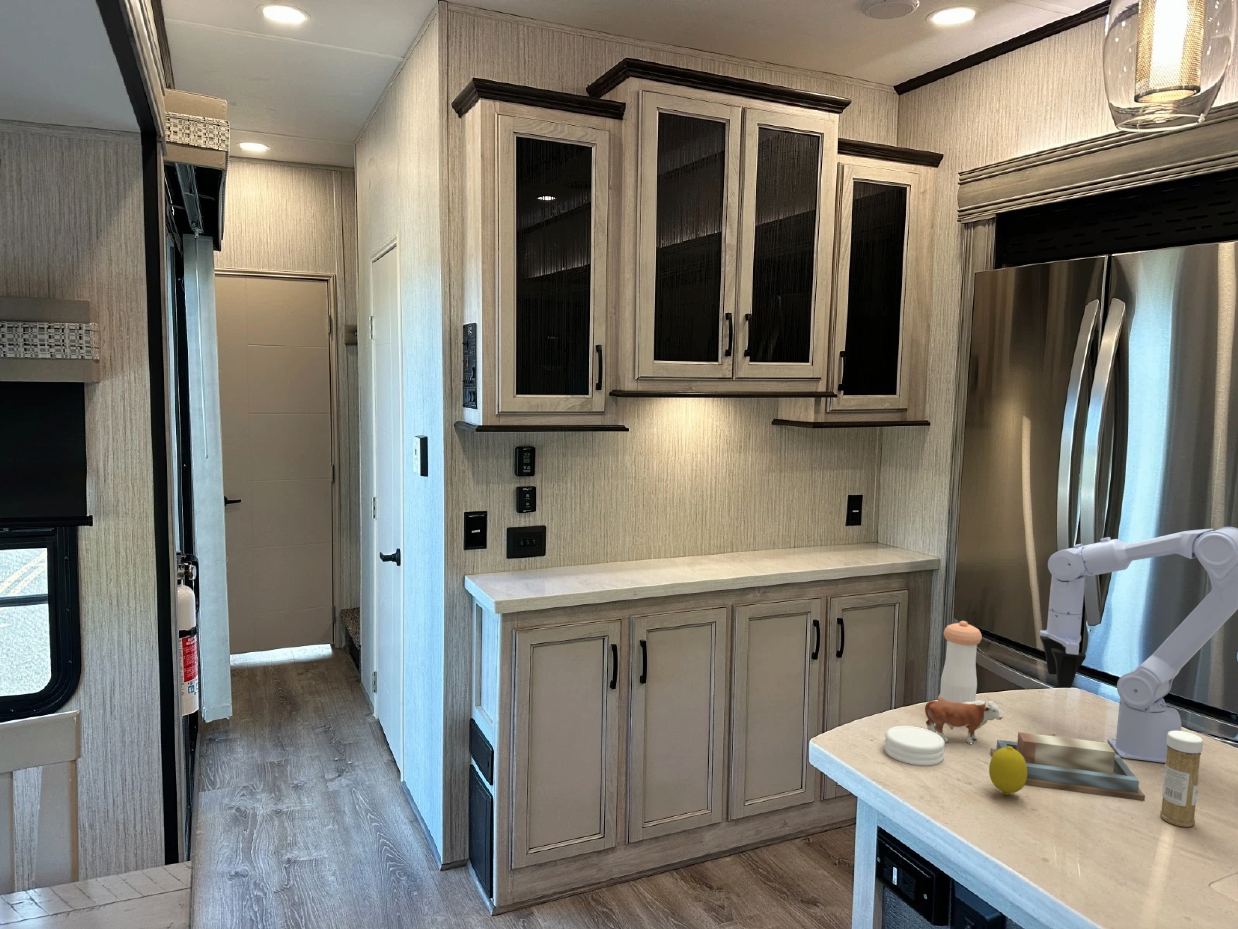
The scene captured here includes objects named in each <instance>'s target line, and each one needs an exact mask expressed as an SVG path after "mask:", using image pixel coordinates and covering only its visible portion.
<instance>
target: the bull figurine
mask: <svg viewBox="0 0 1238 929" xmlns="http://www.w3.org/2000/svg"><path fill="white" fill-rule="evenodd" d="M924 706H925V707H924V713H925V716H926V718H927V720H926V721H925V724H926V727H927V728H926V729H927V730H930V731H932V732H935V733H936V734H938V735H939V736H941V737H942V738H943V740H944V742H948V743H949V742H950V741H949V739H948V737H947V736H946V735H945V734H944V729H943V728H944V726H945V724H946V725H947V726H948V727H949V729H950V730H951V731H952V730H954V728H960V727H965V728H966V729H968V731H967V737H966V739H965V741H966V742H967V743H968V744H969V743H972V744H971V745H974V742H973V739H978V737H977V736H976V733H975V732H976V731H977V730H979V729H980V728H982V726H984V725H986V724H987V723H988V721H994V720H998V721H1000V720H1003V718H1004V715H1003V714H1002V713H1001V711H1000V708H999V707H998V706H997V704H996V703H994V701H993V700H989V701H988V702H985V701H983V700H977V699H976V701H974V702H963V703H954V702H943V701H938V700H929V701H928V702H926V704H925V705H924Z"/></svg>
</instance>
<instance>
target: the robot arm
mask: <svg viewBox="0 0 1238 929" xmlns="http://www.w3.org/2000/svg"><path fill="white" fill-rule="evenodd" d="M1175 554H1176V555H1180V556H1182V557H1185V558H1187V559H1190V560H1192V559H1196V558H1197V560H1198V562H1199V563H1200V564H1201V565H1202V567H1203V568H1204V569H1205V571H1206V572H1207V574H1208V578H1209V581H1210V584H1211V588H1212V589H1211V590H1210V592H1209V593H1207V595H1206V596H1205V597H1204V598H1203V599H1202V600H1201V601H1200V602H1199V603H1198V605H1196V607H1194V608H1193V610H1192V611H1191V612H1189V614H1188V615H1187V616H1186V617H1185V618H1184V619H1183V621H1182V622H1181V623H1180V624H1179V625H1178V626H1177V627H1176V628H1175V629H1174V630H1173V631H1172V632H1171V633H1170V634H1169V636H1168V637H1167V638H1166V639H1165V640H1164V641H1163V642H1162V643H1161V645H1159V646H1158V648H1157V649H1156V650H1155V651H1154V652H1153V653H1152V654H1151V655H1150V656H1148V658H1146V660H1144V661H1143V662H1142V663H1141V664H1139V665H1138V666H1137V667H1136V668H1135V669H1134V670H1132V671H1130V672H1127V673H1125V674H1123V675H1121V676H1120V678H1119V679H1118V680H1117V684H1116V691H1117V694H1118V696H1119V703H1118V713H1117V714H1118V716H1117V723H1116V724H1117V725H1116V736H1115V738H1111V737H1110V738H1107V743H1108V744H1109V745H1110V746H1111V748H1112V749H1113V750H1114V751H1115V753H1116V754H1118V755H1119V756H1120V758H1122V759H1123V758H1125V759H1132V760H1138V761H1139V760H1140V761H1148V762H1156V763H1166V757H1167V734H1168V732H1170V731H1182V720H1181V715H1180V714H1179V712H1178V710H1177V709H1176V708H1174V707H1169V706H1167V704H1166V702H1165V699H1164V697H1165V696H1166V695H1168V694H1169V693H1170V691H1171V689H1172V684H1173V681H1174V679H1175V678H1176V676H1177V675H1178V674H1179V673H1180V671H1181V670H1182V668H1183V667H1184V666H1185V665H1186V664H1187V663H1188V662H1189V661H1190V660H1191V659H1192V658H1193V657H1194V656H1195V655H1196V654H1197V653H1198V651H1200V649H1201V648H1202V647H1203V646H1204V645H1205V644H1206V643H1207V642H1208V641H1209V640H1210V639H1211V638H1212V637H1213V635H1214V634H1216V633H1217V632H1218V631H1219V630H1220V628H1221V627H1223V625H1224V624H1225V623H1226V622H1227V621H1228V620H1229V619H1230V618H1231V617H1232V616H1233V615H1234V614H1235V613H1236V611H1238V528H1237V527H1233V526H1225V527H1224V526H1223V527H1220V528H1218V529H1216V530H1214V528H1204V529H1203V528H1202V529H1193V530H1184V531H1180V532H1176V533H1175V532H1174V533H1171V534H1170V533H1169V534H1166V535H1161V536H1157V537H1154V538H1149V539H1144V540H1140V541H1136V542H1130V543H1126V542H1124V541H1122V540H1121V539H1119V538H1118V539H1117V538H1115V539H1114V538H1113V539H1111V537H1110V536H1108V537H1103V538H1100V541H1099V542H1094V543H1090V544H1085V545H1083V543H1079V544H1077V543H1076V544H1075V545H1074V547H1071V548H1066V549H1060V550H1059V551H1056V552H1054V553H1053V554H1051V555H1050V557H1049V558H1048V561H1047V568H1048V571H1049V573H1050V574H1051V580H1050V589H1049V591H1050V592H1049V600H1048V601H1049V602H1048V613H1047V624H1046V629H1043V630H1041V629H1040V630H1039V635H1040V636H1039V639H1040V641H1041V643H1042V646H1043V649H1044V650H1043V651H1044V653H1045V659H1046V662H1045V663H1046V669H1047V673H1048V675H1055V676H1056V682H1057V686H1058V687H1059V688H1069V689H1070V688H1072V685H1073V683H1074V681H1075V677H1076V675H1077V672H1078V670H1079V668H1080V667H1081V665H1082V664H1083V662H1084V661H1085V660H1086V657H1087V654H1085V653H1084V652H1080V651H1079V650H1080V643H1081V641H1082V635H1081V631H1082V630H1081V629H1082V618H1083V607H1084V596H1085V578H1086V576H1089V577H1092V576H1097V575H1103V574H1104V575H1105V574H1109V573H1115V572H1120V571H1126V570H1127V569H1128V568H1129V566H1130V564H1131V563H1132V562H1133V561H1138V560H1144V559H1145V560H1146V559H1152V558H1158V557H1165V556H1170V555H1175Z"/></svg>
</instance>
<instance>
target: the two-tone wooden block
mask: <svg viewBox="0 0 1238 929" xmlns="http://www.w3.org/2000/svg"><path fill="white" fill-rule="evenodd" d="M1016 742H1017V751H1018V752H1019V753H1020V754H1021V755H1022V756H1023V757H1024V759H1025V762H1026V763H1031V764H1039V765H1047V766H1054V767H1062V768H1070V769H1078V770H1086V771H1093V772H1101V773H1109V774H1113V770H1114V759H1115V754H1116V750H1115V749H1114V748H1113V747H1112V745H1111V744H1110V743H1109V742H1104V741H1094V740H1090V739H1079V738H1070V737H1063V736H1053V735H1045V734H1038V733H1028V732H1020V731H1018V733H1017V741H1016Z"/></svg>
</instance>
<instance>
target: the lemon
mask: <svg viewBox="0 0 1238 929" xmlns="http://www.w3.org/2000/svg"><path fill="white" fill-rule="evenodd" d="M988 772H989V778H990V780H991V782H992V784H993V786H995V788H996V789H997V790H998V791H1001V793H1003V795H1004V796H1009V795H1010V794H1014V793H1017V792H1019V791H1021V790H1022V789H1023V788H1024V787H1025V786H1026V785H1025V782H1026V779H1027V765H1026V762H1025V759H1024V757H1023V756H1022V755H1021V754H1020V753H1019V752H1018V751H1017V750H1015V749H1013V747H1011V746H1008V747H1005V748H1001V749H999V750H997V751H996V752H995V753H994V754H993V756H992V755H991V758H990V762H989V767H988Z"/></svg>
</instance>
